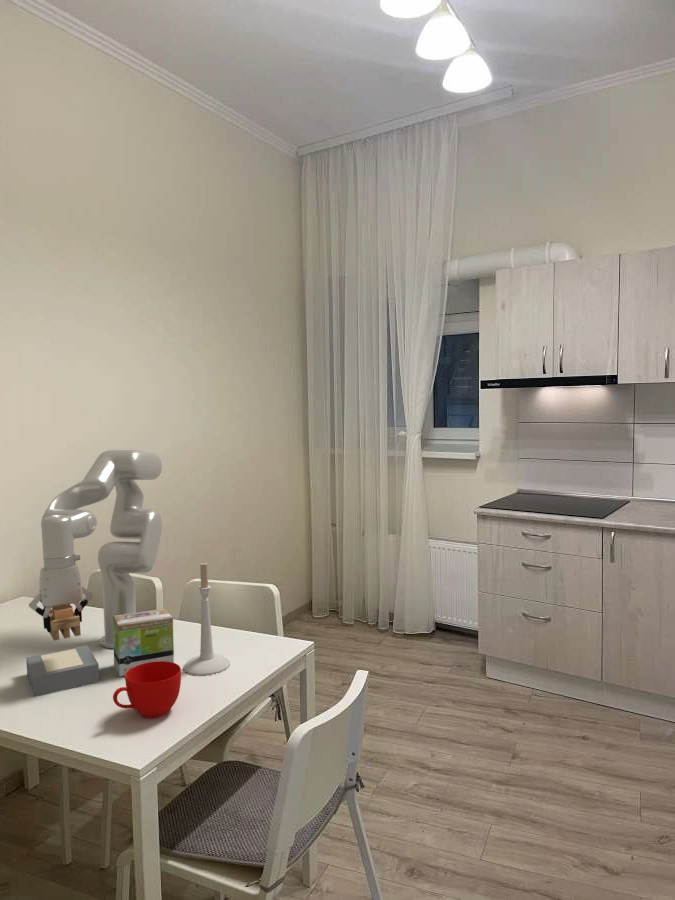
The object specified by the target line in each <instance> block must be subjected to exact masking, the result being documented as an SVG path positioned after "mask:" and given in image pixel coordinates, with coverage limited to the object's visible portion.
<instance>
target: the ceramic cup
mask: <svg viewBox="0 0 675 900" xmlns="http://www.w3.org/2000/svg"><path fill="white" fill-rule="evenodd" d="M124 678H125V679H124V680H125V686H123V687H122V686H121V687H119V688H116V690H115V691H114V692H113V695H112V700H113V703H114V704H115V705H116V706H117V707H118V708H121V709H134V710H135V711H136V712H137V713H138V714H139V715H140V716H141V717H142V718H145V719H158V718H161V717H163V716H165V715H167V714H168V713H169V712H170V710H171V709H172V708H173V707H174V705H175V704H176V702H177V700H178V697H179V694H180V690H181V683H182V668H181V666H180V665H179V664H177V663H176V662H174V663H173V662H166V661H156V662H148V663H144V664H140V665H137V666H135V667H133V668H131V669H130V670H128V671H127V672H126V674H125V676H124ZM121 692H126V694H127V697H128V701H129V703H130V704H123V703H120V702H119V701H118V695H119V694H120V693H121Z"/></svg>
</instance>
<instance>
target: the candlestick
mask: <svg viewBox="0 0 675 900" xmlns="http://www.w3.org/2000/svg"><path fill="white" fill-rule="evenodd" d="M199 566H200V585H199V586H198V587H197V588H198V589H199V590H200V591H199V593H200V595H201V600H200V601H201V608H200V616H201V617H200V650H199V651H200V653H199V655H197V656H194V657H191V658H190V659H189V660H187V661H186V662H185V663H184V664H183V671H184V672H185V673H186V672H187V673H186V674H188V673H189V674H188V675H190V674H192V675H191V676H195V675H199V676H198V677H206V675H209V676H213V675H212V674H215V675H217V674H216V673H218V674H221V673H223V672H222V671H224V670H225V671H227V670H228V669H229V668H230V667H231V661H230V660H229V658H227V657H226V656H224V655H221V654H216V653H214V648H213V637H212V636H213V635H212V625H211V624H212V623H211V613H210V602H209V601H210V599H209V598H208V597H209V594H210V589H211V588H212V586H211V585H209V574H208V573H209V570H208V569H209V568H208V566H209V565H208V563H207V562H201V563H200V565H199ZM229 666H230V667H229ZM227 668H228V669H227ZM226 669H227V670H226ZM225 671H224V672H225ZM220 672H221V673H220Z"/></svg>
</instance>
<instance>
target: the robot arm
mask: <svg viewBox="0 0 675 900" xmlns="http://www.w3.org/2000/svg"><path fill="white" fill-rule="evenodd" d="M162 469H163V463H162V460H161V458H160V457H159V455H157V454H156V453H154V452H147V451H142V450H141V451H140V450H134V449H116V450H115V449H110V450H105V451H103V452H101V453H100V454H99V455H98V457H97V458H96V460H95V461H94V463H93V464H92V466H91V467H90V468H89V470H88V471H87V473H86V475H85V476H84V478H83V479H82V480H81V481H80V482H78V483H76V484H73V485H72V486H70V487H68V488H67V489H65V490H63V491H62V492H60V493H58V495H56V496H55V497H54V498H53V500H51V501H50V503H49V505H48V506H47V507H46V509H45V511H44V513H43V515H42V518H41V522H40V526H41V538H42V539H41V540H42V541H41V543H42V557H43V560H42V561H43V567H41V568H40V573H39V585H38V586H39V589H38V590H39V593H38V594H37V595H36V596H35V597H34V598H33V599H32V600H31V601H30V602H29V603H28V607H29V608H30V609H32V610H33V611H34V612H35V613H36V614H37V615H39V616H41V617H42V621H43V629H44V630H46V631H47V633H49V632H51V626H50V617H49V612H50V610H51V609H52V607H55V606H60V605H66V604H70V605H72V604H73V605H74V606H75V609H73V611H74V613H75V614H76V616H79V617H80V623H82V622H83V613H82V612H83V610H84V608H85V607H86V606H87V605H88V603H89V602H90V600H92V598H93V597H94V594H93V593H92V592H91V591H89V590H88V589H87V588H85V587H83V586H82V580H81V574H80V570H79V566H78V563H76V562H77V561H79V560H81V555H80V554H76V553H75V547H74V546H75V545H74V541H75V539H80V538H81V539H82V538H87V537H89V536H90V535H92V533H94V532H95V530H96V528H97V524H98V523H97V522H98V521H97V517H96V516H95V514H94V513H93V512H92V511H90V510H86V509H81V508H83V507H86V506H90V505H94V504H96V503H99V502H101V501H104V500H105V499H107V498H108V497H109V495H110V494H111V492H112V490H113V489H114V488H115V491H116V493H115V501H114V506H113V507H114V508H113V511H112V515H111V520H110V526H109V530H110V534H111V535H112V536H113V537H115V538H117V539H121V540H122V539H123V540H124V539H125V540H126V539H127V540H140V541H110V542H109V541H108V542H106V543H104V544H103V545H102V546H101V547H100V548H99V550H98V552H97V562H98V566H99V570H100V576H101V581H102V602H103V624H104V636H101V638H100V639H99V645H100V646H101V647H103V648H106V649H114V643H113V616H115V615H122V614H129V613H136V612H137V610H136V609H137V608H136V586H135V582H134V579H133V577H132V576H131V574H147V573H150V572H152V570H154V567H155V565H156V561H157V557H158V551H159V546H160V541H161V536H162V530H163V521H162V516H161V514H160V513H159V512H158V511H157V510H155V509H152V508H149V509H148V508H143V504H144V500H145V499H144V493H143V490H142V488H140V487H141V486H139V485H138V484H137V480H138V481H152V480H155V479H157V478H158V477H159V476H160V475H161V473H162ZM135 480H136V481H135ZM83 595H85V596H84V598H83ZM39 602H40V603H41V604H42V607H43V608H41V607H40V606H38V603H39Z"/></svg>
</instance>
